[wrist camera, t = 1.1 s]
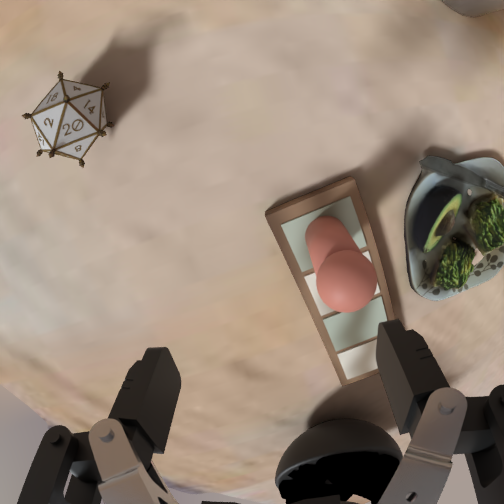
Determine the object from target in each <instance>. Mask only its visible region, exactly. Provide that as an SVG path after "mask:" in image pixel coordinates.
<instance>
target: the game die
mask: <svg viewBox="0 0 504 504" xmlns="http://www.w3.org/2000/svg"><path fill="white" fill-rule="evenodd" d="M57 76H58V78H59V82H58V83H57V84H56V85H55V86H54V87H53V88H52V89H51V91H50V92H49V93H48V94H47V95H46V97H45V98H44V99H43V100H42V101H41V103H40V104H39V105H38V106H37V108H36V109H35V110H34V111H33V113H32V114H29V113H26V114H24V115H22V116H23V117H24V118H25V119H28V118H31V121H32V124H33V128H34V131H35V134H36V137H37V140H38V142H39V145H40V148H41V149H40V150H38V152H37V156H40V155H41V154H42V152H43V151H44V152H48V153H49V157H50V158H51V157H54V154H56V155H61V156H65V157H69V158H73V159H77V160H79V163H80V165H79V166H81V167H84V164H85V163H84V161H83V160H82V158H83V157H84V156H85V154H86V153H87V151H88V150H89V148H90V147H91V146H92V144H93V143H94V142H95V140H96V139H97V138H98V136H99V135H100V136H102V137H103V136H106V135H107V134H106V132H105V131H103V130H104V128H105V127H106V126H108V127H112V126H114V125H113V123H112V122H108V123H107V118H106V110H105V101H104V92H103V90H104V89H107V88H108V86H109V84H110V82H109V83H105V84H104V85H103V86H102V88H100V87H96V86H92V85H88V84H83V83H79V82H74V81H70V80H65V79H63V73H62V72H61V71H59V74H58V75H57ZM37 156H36V157H37Z"/></svg>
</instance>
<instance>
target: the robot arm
mask: <svg viewBox="0 0 504 504" xmlns="http://www.w3.org/2000/svg"><path fill="white" fill-rule="evenodd" d="M442 1H443V2H444V3H445V4H446V5H447V6H449V7H450V8H451V9H453V10H454V11H456V12H458V13H460V14H462V15H465V16H469V17H478V16H481V15H485V14H488V13H491V12H495V11H499V10H503V9H504V0H442ZM376 363H377V367H378V370H379V373H380V376H381V378H382V381H383V384H384V387H385V390H386V393H387V396H388V399H389V402H390V405H391V408H392V411H393V414H394V417H395V420H396V423H397V426H398V430H399V433H400V435H401V434H405V433H408V432H409V433H410V436H411V442H410V444H409V446H408V448H407V450H406V452H405V454H404V456H403V458H402V460H401V462H400V464H399V466H398V468H397V470H396V472H395V474H394V476H393V478H392V480H391V481H390V483H389V485H388V487H387V488H386V490H385V492H384V494H383V495H382V497H381V499H380V500H379V502H378V504H437V502H438V500H439V497H440V495H441V493H442V491H443V488H444V486H445V483H446V481H447V479H448V476H449V473H450V471H451V468H452V462H451V459H452V456H453V454H465V457H466V460H467V464H468V467H469V470H470V474H471V477H472V481H473V484H474V489H475V493H476V496H477V501H478V504H504V385H499V386H497V387H495V388H494V389H493V390H492V392H491V393H490V395H489V396H483V397H465V396H464V395H463V394H462V393H461V392H460V391H459V390H457V389H454V388H450V386H449V384H448V382H447V380H446V379H445V377H444V375H443V373H442V371H441V369H440V367H439V365H438V363H437V362H436V360H435V358H434V357H433V354H432V352H431V351H430V349H428V345H427V344H426V342H425V340H424V338H423V337H422V336H421V335H420V334H418V333H417V332H416V331H414V330H413V329H412V330H408V331H406V330H405V329H404V327H403V325H402V323H401V321H400V320H399V319H395V320H390V321H385V322H380V323H379V325H378V334H377V344H376ZM180 389H181V377H180V373H179V371H178V369H177V367H176V365H175V362H174V360H173V358H172V356H171V354H170V351H169V349H168V348H167V347H155V348H147V350H146V352H145V354H144V356H143V358H142V360H138V361H137V362H136V363H135V364H134V365H133V366H132V367H131V368H130V369H129V371H128V373H127V375H126V377H125V381H124V382H123V384H122V386H121V389H120V391H119V393H118V396H117V398H116V400H115V403H114V405H113V407H112V410H111V412H110V414H109V417H108V419H103V420H100V421H98V422H97V423H96V424H94V425H93V427H92V428H91V430H90V431H88V432H81V433H74V434H72V433H71V432H70V430H69V429H68V428H66V427H65V426H62V425H58V426H54V427H52V428H50V429H49V430H48V431H47V432H46V433H45V435H44V437H43V439H42V441H41V444H40V446H39V448H38V450H37V453H36V455H35V457H34V460H33V462H32V465H31V467H30V470H29V473H28V475H27V478H26V481H25V483H24V485H23V488H22V491H21V494H20V497H19V499H18V502H17V504H100V503H101V499H103V502H104V504H179V503H178V502H177V501H176V500H175V499H174V497H173V496H172V494H171V493H170V491H169V489H168V488H167V486H166V484H165V482H164V481H163V479H162V477H161V476H160V474H159V472H158V470H157V468H156V467H155V465H154V463H153V461H152V460H151V459H152V455H153V453H157V454H164V451H165V447H166V443H167V439H168V435H169V431H170V427H171V423H172V419H173V415H174V412H175V408H176V404H177V400H178V396H179V393H180ZM69 472H71V473H72V476H71V479H70V482H69V486H68V489H67V492H66V495H65V498H64V495H63V491H64V487H65V484H66V481H67V478H68V474H69ZM201 504H238V503H235V502H210V501H202V503H201ZM291 504H358V503H354V502H348V501H340V495H333V496H327V497H320V498H312V499H304V500H301V501H298V502H295V503H291Z"/></svg>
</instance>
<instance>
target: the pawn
mask: <svg viewBox="0 0 504 504" xmlns="http://www.w3.org/2000/svg"><path fill="white" fill-rule="evenodd" d="M305 241H306V244H307V247H308V251H309V254H310V257H311V261H312V264H313V267H314V271H315V274H316V286H317V291H318V294H319V296H320V298H321V299H322V301H323V302H324V303H325V304H326V305H327V306H328V307H329V308H331V309H333V310H335V311H338V312H344V313H350V312H355V311H358V310H360V309H362V308H363V307H365V306H366V305H367V304H368V303H369V302H370V301H371V299H372V298H373V296H374V294H375V292H376V288H377V274H376V270H375V268H374V266H373V264H372V263H371V262H370V260H369V259H368V258H367V257H365V256H364V255H363V254H362V252H361V251H360V249H359V247H358V246H357V244H356V243H355V241H354V240H353V238H352V237H351V235H350V234H349V232H348V231H347V229H346V228H345V226H344V225H343V223H342V222H341V221H340V220H339V219H337V218H335V217H333V216H321V217H318V218H316V219H315V220H313V221H312V222H311V223H310V224H309V225H308V227H307V229H306V232H305Z"/></svg>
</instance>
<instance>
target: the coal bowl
mask: <svg viewBox="0 0 504 504" xmlns="http://www.w3.org/2000/svg"><path fill="white" fill-rule="evenodd" d="M402 458H403V455H402V452H401V450H400V448H399V446H398V444H397V443H396V442H395V440H394V439H393V438H392V437H391V436H390V435H389V434H388V433H387V432H386V431H384V430H383V429H381V428H380V427H378V426H376V425H374V424H372V423H369V422H366V421H362V420H356V419H338V420H332V421H328V422H324V423H322V424H319V425H317V426H315V427H312V428H311V429H309V430H307V431H306V432H304V433H303V434H301V435H300V436H299V437H298V438H296V439H295V440H294V441H293V442H292V443H291V445H290V446H289V447H288V448H287V450H286V451H285V452H284V454H283V456H282V458H281V460H280V462H279V465H278V468H277V471H276V476H275V484H276V486H277V487H278V489H279V491H280V494H281V497H282V498H283V499H286V504H291V503H295V502H298V501H301V500H304V499H312V498H320V497H327V496H333V495H340V501H347V500H348V499H349V498H350V497H351V496H352V495H353V494H355V495H358V496H362V497H363V498H366V499H368V500H371V504H378V502H379V500H380V499H381V497H382V495H383V494H384V492H385V490H386V488H387V487H388V485H389V483H390V481H391V480H392V478H393V476H394V474H395V472H396V470H397V468H398V466H399V464H400V462H401V460H402Z"/></svg>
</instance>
